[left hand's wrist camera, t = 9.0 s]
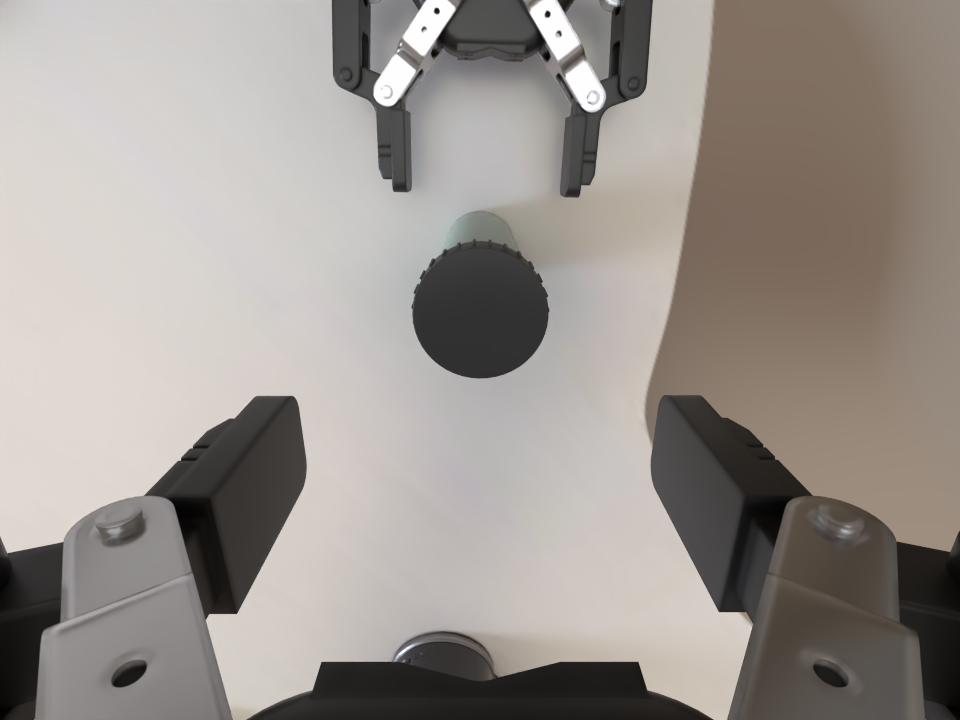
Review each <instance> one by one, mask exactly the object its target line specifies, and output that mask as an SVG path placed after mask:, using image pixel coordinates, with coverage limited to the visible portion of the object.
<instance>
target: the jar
mask: <svg viewBox="0 0 960 720" xmlns="http://www.w3.org/2000/svg"><path fill="white" fill-rule="evenodd" d="M473 239H476V241H488V242H489V239H490V240H492V242H494V243H498V244H501V245H504V243H505V244H507V247H509V248H511V249H513V250H514V251H516V252H517V251H519V250H518V247H517V245H516V242H515V240H514V237H513V235H512V232H511V230H510V228H509V227H508V225H507V224H506V223H505V222H504V221H503V220H502V219H501V218H500V217H498V216H496V215H495V214H492V213H489V212H483V211H477V212H472V213H468V214H466V215H464V216H462V217H461V218H460V219H458V220H457V221H456V222H455V223H454V224H453V226H452V227H451V229H450V231H449V233H448V236H447V239H446V241H445V244H444V246H443V249H442V251H441V254H442V253H443V250H444V249H446V250H448V249H450V248H452V247H454V246H456V245H457V243H459V242H460V243H461V244H463V243H467V242H472V241H473ZM441 254H440V255H441Z"/></svg>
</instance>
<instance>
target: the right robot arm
mask: <svg viewBox="0 0 960 720" xmlns="http://www.w3.org/2000/svg"><path fill="white" fill-rule="evenodd" d="M380 1H381V0H332V34H333V77H334V80H335V82H336V83H337V85H338V86H339V87H341V88H343V89H345V90H347V91H349V92H351V93H353V94H356V95H358V96H360V97H363V98H365V99H367V100H369V101H370V102H371V103H372V104H373V106H374V108H375V110H376V116H377V139H378V162H379V170H380V172H381V175H382V177H383V179H392V186H393V191H394V192H409V191H411V187H412V173H411V126H410V112H408V111H406V108H405V104H406V102H407V101H408V99H409V98H410V96H411V95H412V93H413V92H414V90H415V89H416V87H417V86H418V84H419V83H420V81H421V80H422V79H423V77H424V76H425V75H426V74H427V73H428V72H429V71H430V69H431V68H432V66H433V65H434V64H435V62H436V61H437V59H438V58H439V56H440V55H441V53H442V52H443V50H444V49H445V50H446V51H447V52H448V53H450V54H451V55H453V56H456V57H458V60H477V59H480V58H484V57H488V56H493V57H495V58H498V59H501V60H504V61H516V62H522V61H523V59H525V58H528V57H530V56H532V55H533V54H535V53H536V52H537V54H538V56H539V57H540V59H541V61H542V63H543V64H544V66H545V68H546V69H547V71H548V73H549V74H550V76H551V77H552V78H553V79H554V80H555V81H556V83H557V84H558V86H559V88H560V89H561V91H562V93H563V94H564V96H565V98H566V100H567V101H568V103H569V105H570V106H571V116H570V117H567V118H566V120H565V133H564V145H563V158H562V171H561V184H560V194H561V196H563V197H577V198H578V197H579V195H580V190H581V185H590V183H591V181H592V179H593V177H594V175H595V167H596V157H597V147H598V137H599V127H600V120H601V117H602V115H603V113H604V112H605V111H606V110H607V109H608V108H610V107H611V106H614V105H617V104H619V103H623V102H626V101H628V100H630V99H634V98H637V97H639V96H640V95H641V94H642V93H643V92H644V90H645V88H646V84H647V71H648V58H649V44H650V30H651V17H652V3H653V0H599V2H600V5H601V6H602V8H603V9H605V10H606V11H610V12H612V21H611V41H610V61H609V78H607V79H604V80H602V81H599V80H598V78H597V76H596V74H595V72H594V71H593V69H592V67H591V65H590V64H589V62H588V60H587V58H586V56H585V53H584V48H583V46H582V44H581V42H580V40H579V38H578V36H577V35H576V33H575V31H574V29H573V28H572V26H571V24H570V22H569V20H568V19H567V17H566V15H565V13H566V11H567V10H568V9H569V7H570V6H571V4H572V3H573V1H574V0H413V1H414V3H415V5H416V6H417V8H418V9H419V12H418V13H417V15H416V16H415V18H414V20H413V21H412V23H411V24H410V26H409V27H408V29H407V30H406V32H405V34H404V35H403V37H402V38H401V40H400V42H399V44H398V48H397V50H396V52H395V54H394V55H393V57H392V58H391V60H390V61H389V63H388V65H387V66H386V68H385V69H384V71H383V72H382V74H378V73H376V72H374V71H371V70H370V24H371V4H377V3H379V2H380ZM558 33H559V34H560V36H559V34H558Z"/></svg>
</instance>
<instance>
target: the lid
mask: <svg viewBox="0 0 960 720" xmlns="http://www.w3.org/2000/svg"><path fill="white" fill-rule="evenodd" d="M420 279H421V282H420V284H417V287H416V289H415V291H414V294H415V297H414V302H413V304H412V309H413V313H412V315H413V324H414V328H415V332H416V335H417V338H418V340H419V342H420V344H421V345H422V347H423V349H424V350H425V351H426V353H427V354H428V355H429V356H430V357H431V358H432V359H433V360H434V361H435V362H436V363H437V364H439V365H440V366H442V367H443V368H445V369H446V370H448V371H450V372H452V373H455V374H458V375H461V376H465V377H470V378H491V377H496V376H500V375H503V374H506V373H508V372H511V371H513V370H514V369H516V368H518V367H519V366H521V365H522V364H523V363H525V362H526V361H527V360H528V359H529V358H530V357H531V356H532V355H533V354H534V352H535V351H536V350H537V348H538V347H539V345H540V343H541V342H542V339H543V337H544V335H545V332H546V328H547V323H548V312H549V308H548V303H547V298H546V297H548V295H547V292H546V290H545V288H544V287H543V286H542V284H541V283H542V282H543V281H542V279H541V277H540V275H539V273H538V274H536V272H535V270H534V267H533V265H532V263H531V261H529V262H528V261H527V260H526V259H525V258H524V257H523V256H522V255H521V252H520V251H517V252H516V251H514V250H513V249H511V248H509V247H507V244H505V243H504V245H501V244H498V243H494V242H492V240H490V239H489V242H488V241H476V239H473V241H472V242H467V243H463V244H461V243H460V242H459V243H457V245H456V246H454V247H452V248H450V249H448V250H446V249H444V250H443V253H442V254H441V255H440V256H438V257H437V258H436V259H434V258H433V259H432V260H431V263H430V265H429V267H428V269H427V270H426V271H425V270H424V271H423V273H422V275H421V277H420Z"/></svg>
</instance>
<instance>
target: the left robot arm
mask: <svg viewBox="0 0 960 720" xmlns="http://www.w3.org/2000/svg"><path fill="white" fill-rule="evenodd" d="M306 470H307V464H306V454H305V448H304V441H303V434H302V427H301V420H300V413H299V406H298V403H297V400H296V399H295V397H293V396H256V397H255V398H253V399H252V401H251V402H250V403H249V404H248V405H247V406H246V407H245V408H244V409H243V410H242V411H241V412H240V414H239V415H238V416H237V417H236V418H235V419H228V420H226V421H225V422H223V423H221V424H219V425H217V426H216V427H214V428H212V429H210V430H208V431H207V432H206V433H205V434H204V435H203V436H202V437H201V438H200V439H199V440H198V441H197V442H196V443H195V444H194V445H193V449H189V450H188V451H187V452H186V453H185V454H184V455H183V456H182V458H181V461H178V462H177V463H176V464H175V465H174V466H173V467H172V468H171V469H170V470H169V471H168V472H167V473H166V474H165V475H164V476H163V477H162V478H161V479H160V480H159V481H158V482H157V483H156V484H155V485H154V486H153V487H152V488H151V489H150V490H149V491H148V492H147V493H146V494H145V495H144V496H139V497H133V498H128V499H124V500H120V501H117V502H114V503H111V504H108V505H106V506H104V507H101V508H99V509H97V510H95V511H93V512H92V513H90V514H88V515H87V516H85V517H84V518H82V519H81V520H80V521H78V522H77V523H76V524H75V525H74V526H73V527H72V528H71V529H70V530H69V531H68V533H67V534H66V536H65V538H64V542H62V543H57V544H52V545H47V546H42V547H37V548H32V549H27V550H22V551H17V552H12V553H7V552H6V549H5V547H4V545H3V542H2V540H1V538H0V720H34V719H35V720H233V719H232V715H231V711H230V708H229V704H228V700H227V697H226V693H225V689H224V686H223V682H222V678H221V675H220V671H219V667H218V664H217V660H216V656H215V653H214V649H213V645H212V642H211V638H210V634H209V631H208V627H207V623H206V619H207V617H208V615H209V614H237V613H238V611H239V609H240V607H241V605H242V603H243V601H244V599H245V598H246V596H247V594H248V592H249V590H250V588H251V586H252V584H253V582H254V581H255V579H256V577H257V575H258V573H259V571H260V569H261V567H262V565H263V563H264V562H265V560H266V558H267V556H268V554H269V552H270V550H271V548H272V546H273V544H274V543H275V541H276V539H277V537H278V535H279V533H280V531H281V529H282V527H283V526H284V524H285V522H286V520H287V518H288V516H289V514H290V512H291V510H292V508H293V507H294V505H295V503H296V501H297V499H298V497H299V495H300V493H301V491H302V489H303V487H304V483H305V479H306ZM651 476H652V481H653V485H654V488H655V490H656V492H657V494H658V496H659V498H660V500H661V502H662V503H663V505H664V507H665V509H666V511H667V513H668V515H669V517H670V519H671V521H672V523H673V525H674V527H675V528H676V530H677V532H678V534H679V536H680V538H681V540H682V542H683V544H684V546H685V548H686V550H687V551H688V553H689V555H690V557H691V559H692V561H693V563H694V565H695V567H696V569H697V571H698V573H699V575H700V576H701V578H702V580H703V582H704V584H705V586H706V588H707V590H708V592H709V594H710V596H711V598H712V600H713V601H714V603H715V605H716V607H717V609H718V611H719V612H747V614H748V616H749V618H750V619H751V621H752V623H753V627H752V631H751V634H750V638H749V642H748V645H747V649H746V653H745V656H744V660H743V664H742V667H741V671H740V675H739V678H738V682H737V686H736V689H735V693H734V697H733V700H732V704H731V708H730V711H729V715H728V719H727V720H925V719H926V720H960V531H959V533H958V535H957V538H956V540H955V542H954V545H953V547H952V550H951V552H947V551H941V550H936V549H931V548H926V547H921V546H916V545H911V544H906V543H901V542H896V538H895V536H894V535H893V533H892V531H891V530H890V529H889V528H888V527H887V526H886V525H885V524H884V523H883V522H882V521H880V520H879V519H878V518H876V517H875V516H873V515H872V514H870V513H868V512H867V511H865V510H863V509H861V508H859V507H856V506H854V505H851V504H849V503H846V502H843V501H840V500H836V499H832V498H827V497H821V496H813V495H812V494H811V493H810V492H809V491H808V490H807V489H806V488H805V487H804V486H803V485H802V484H801V483H800V482H799V481H798V480H797V479H796V478H795V477H794V476H793V475H792V474H791V473H790V472H789V471H788V470H787V469H786V468H785V467H784V466H783V465H782V464H781V462H780V461H779V460H775V456H774V455H773V454H772V453H771V452H770V451H769V450H768V449H767V448H763V444H762V443H761V442H760V441H759V440H758V439H757V438H756V437H755V436H754V435H753V434H752V433H751V432H750V431H749V430H748V429H746V428H744V427H743V426H741V425H739V424H737V423H735V422H734V421H732V420H730V419H728V418H722V417H721V416H720V415H719V414H718V413H717V412H716V411H715V410H714V409H713V408H712V407H711V405H710V404H709V403H708V402H707V401H706V400H705V399H704V398H703V397H702V396H700V395H664V396H663V397H662V398H661V400H660V403H659V407H658V413H657V420H656V427H655V435H654V441H653V449H652V456H651ZM247 720H713V719H712V718H710V717H708V716H707V715H705V714H703V713H702V712H700V711H698V710H696V709H694V708H692V707H690V706H688V705H686V704H684V703H682V702H680V701H678V700H675V699H672V698H669V697H667V696H664V695H661V694H658V693H655V692H651V691H647V688H646V685H645V682H644V678H643V675H642V672H641V669H640V666H639V662H558V663H554V664H550V665H547V666H543V667H539V668H535V669H531V670H527V671H523V672H519V673H515V674H511V675H507V676H503V677H499V678H497V677H496V676H495V675H494V666H493V662H492V660H491V658H490V656H489V654H488V653H487V652H486V651H485V649H484V648H482V647H481V646H480V645H479V644H477V643H476V642H474V641H472V640H470V639H468V638H466V637H463V636H459V635H455V634H447V633H435V634H428V635H423V636H420V637H417V638H415V639H413V640H411V641H409V642H407V643H406V644H405V645H403V646H402V647H401V648H400V649H399V650H398V651H397V653H396V654H395V656H394V658H393V661H392V662H321V666H320V669H319V672H318V675H317V678H316V682H315V685H314V688H313V691H309V692H305V693H302V694H299V695H296V696H293V697H291V698H288V699H285V700H282V701H280V702H278V703H276V704H274V705H272V706H270V707H268V708H266V709H264V710H262V711H260V712H258V713H257V714H255V715H253V716H252V717H250V718H248V719H247Z"/></svg>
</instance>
